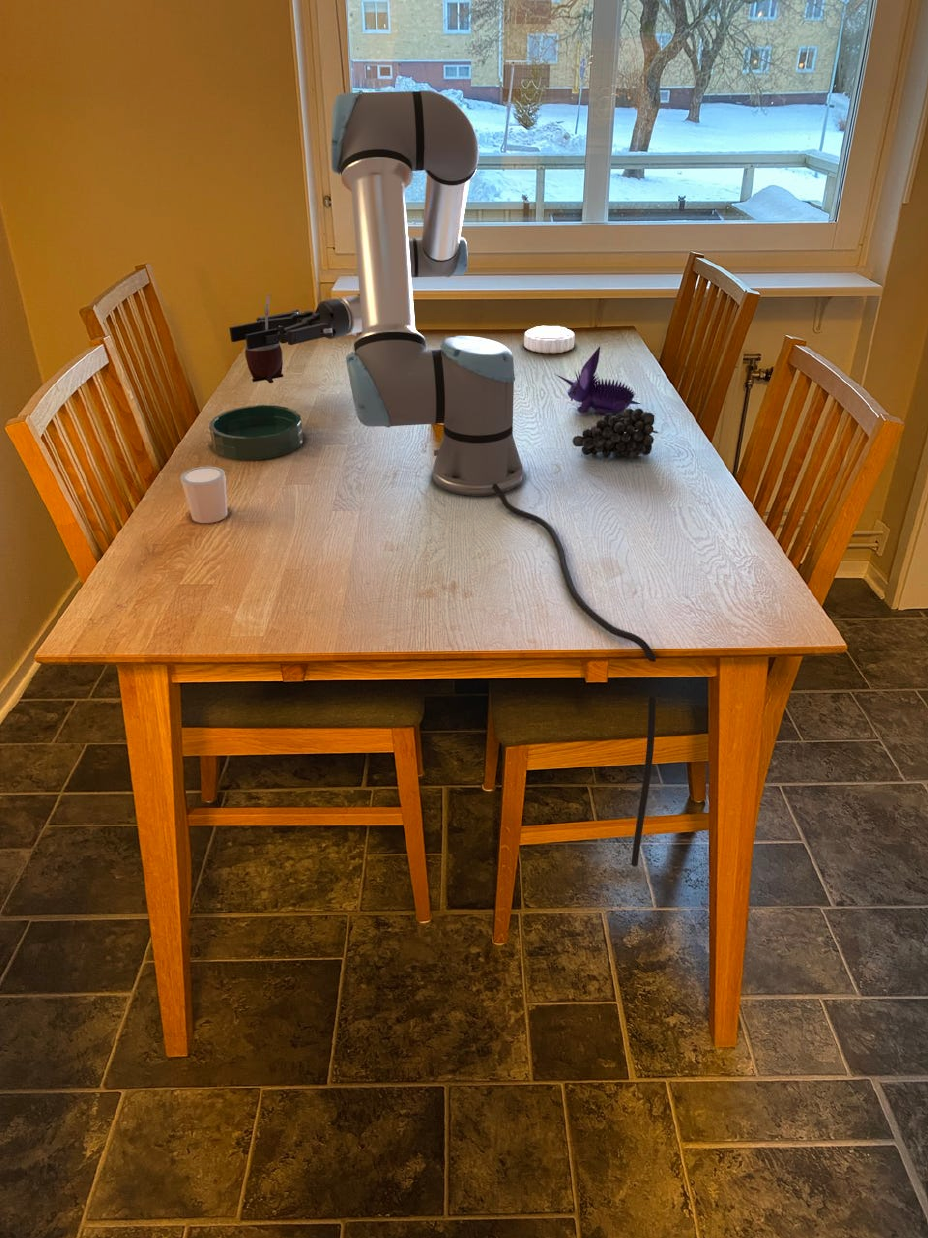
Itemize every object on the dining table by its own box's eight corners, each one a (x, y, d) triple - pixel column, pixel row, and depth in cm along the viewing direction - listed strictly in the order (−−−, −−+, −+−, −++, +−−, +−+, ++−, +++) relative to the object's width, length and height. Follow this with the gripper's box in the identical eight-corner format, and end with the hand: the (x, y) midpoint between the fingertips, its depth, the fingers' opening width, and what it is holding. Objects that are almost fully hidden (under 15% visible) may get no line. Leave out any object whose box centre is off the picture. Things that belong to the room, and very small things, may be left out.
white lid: (547, 335, 230) (548, 321, 228) (584, 346, 223) (585, 331, 221) (513, 345, 223) (513, 330, 222) (550, 357, 216) (550, 341, 214)
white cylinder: (220, 526, 146) (213, 485, 142) (180, 522, 147) (172, 482, 143) (238, 507, 152) (232, 467, 148) (199, 504, 153) (191, 464, 149)
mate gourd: (254, 386, 182) (240, 308, 174) (246, 376, 188) (232, 299, 181) (291, 380, 184) (279, 302, 177) (282, 370, 191) (270, 294, 183)
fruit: (574, 410, 162) (661, 408, 161) (570, 409, 170) (653, 406, 169) (574, 461, 164) (660, 458, 163) (570, 457, 172) (652, 455, 171)
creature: (553, 399, 192) (556, 340, 186) (641, 404, 190) (647, 344, 183) (549, 415, 185) (552, 354, 178) (641, 420, 183) (647, 358, 176)
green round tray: (305, 456, 169) (303, 434, 167) (211, 463, 166) (207, 441, 164) (300, 422, 183) (298, 402, 180) (214, 429, 180) (210, 408, 178)
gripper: (368, 345, 187) (265, 369, 175) (318, 325, 199) (219, 346, 187) (365, 307, 183) (260, 328, 171) (315, 289, 195) (213, 308, 183)
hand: (239, 338), depth 179 cm, fingers closed on mate gourd, 6 cm apart
